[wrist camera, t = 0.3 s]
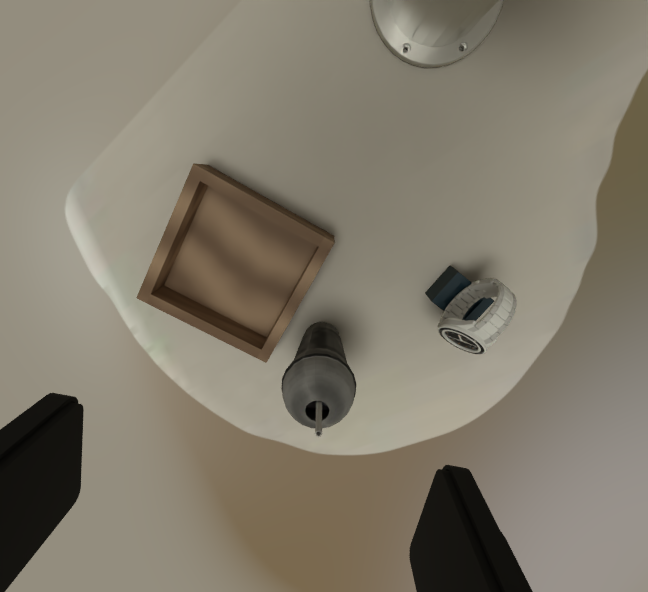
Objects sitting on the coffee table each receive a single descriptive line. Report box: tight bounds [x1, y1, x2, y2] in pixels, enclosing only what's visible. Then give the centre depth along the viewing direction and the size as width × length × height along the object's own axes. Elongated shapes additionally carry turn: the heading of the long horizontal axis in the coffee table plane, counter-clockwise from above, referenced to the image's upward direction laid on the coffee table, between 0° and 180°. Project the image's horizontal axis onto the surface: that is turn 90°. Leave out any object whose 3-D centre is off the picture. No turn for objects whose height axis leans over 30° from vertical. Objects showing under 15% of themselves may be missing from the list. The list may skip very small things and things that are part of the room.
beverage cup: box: [282, 322, 356, 437], centre depth 38 cm, size 7×7×20 cm
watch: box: [425, 266, 516, 354], centre depth 41 cm, size 6×8×11 cm
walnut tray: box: [137, 164, 335, 362], centre depth 43 cm, size 16×16×4 cm
